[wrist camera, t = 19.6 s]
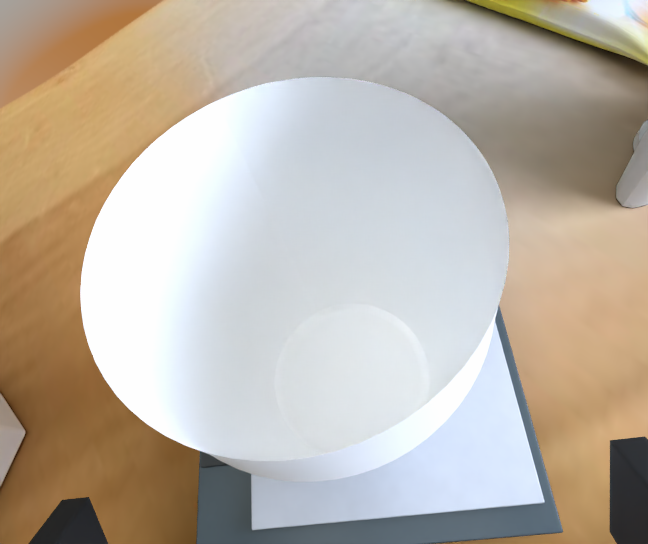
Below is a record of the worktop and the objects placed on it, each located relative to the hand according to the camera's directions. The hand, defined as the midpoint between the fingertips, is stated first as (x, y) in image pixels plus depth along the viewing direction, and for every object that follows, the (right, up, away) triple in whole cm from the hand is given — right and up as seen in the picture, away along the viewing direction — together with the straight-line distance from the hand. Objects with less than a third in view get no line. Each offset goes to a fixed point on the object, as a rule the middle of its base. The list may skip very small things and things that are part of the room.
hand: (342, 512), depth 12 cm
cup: (+1, +1, +8) cm, 8 cm away
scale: (+1, 0, +11) cm, 11 cm away
